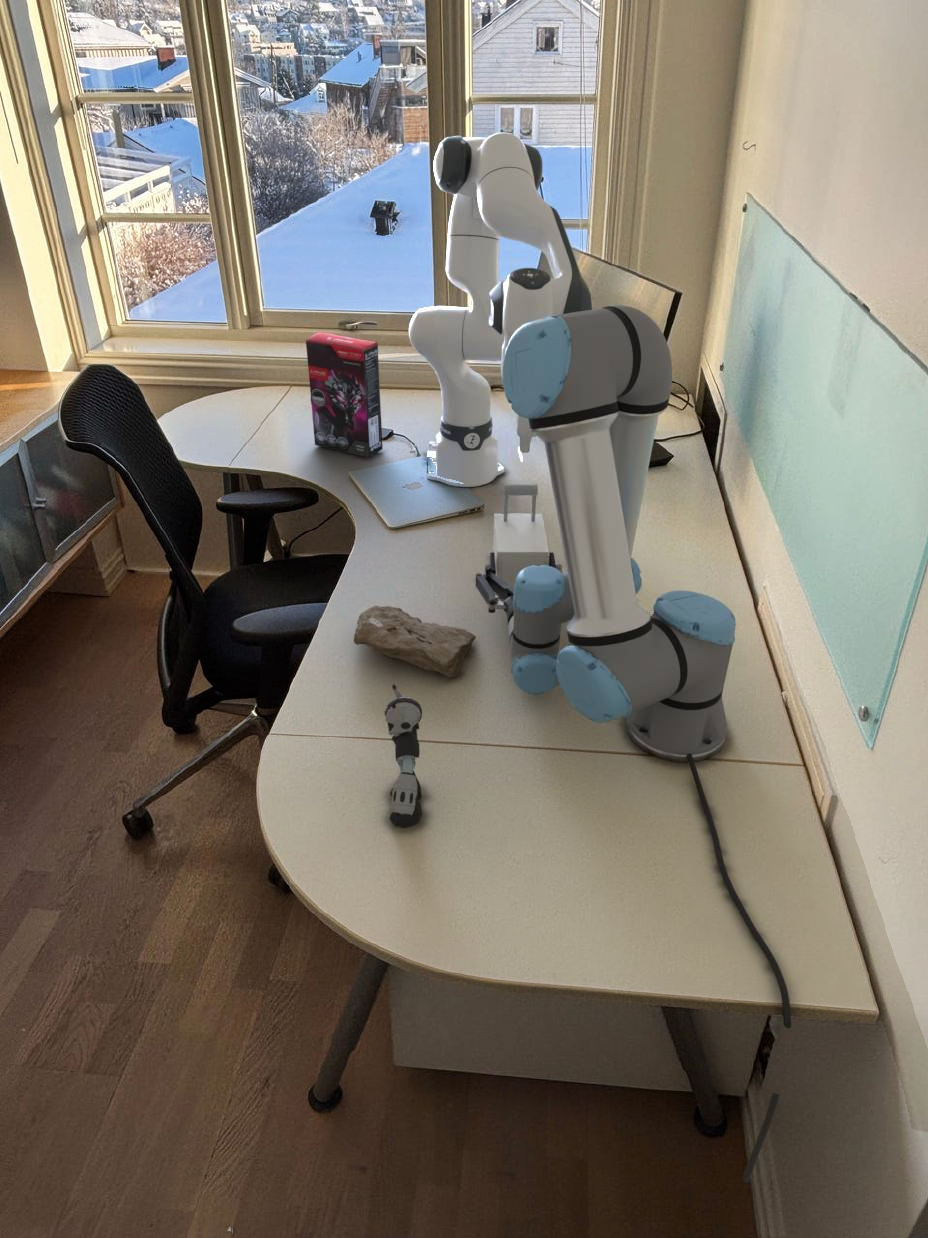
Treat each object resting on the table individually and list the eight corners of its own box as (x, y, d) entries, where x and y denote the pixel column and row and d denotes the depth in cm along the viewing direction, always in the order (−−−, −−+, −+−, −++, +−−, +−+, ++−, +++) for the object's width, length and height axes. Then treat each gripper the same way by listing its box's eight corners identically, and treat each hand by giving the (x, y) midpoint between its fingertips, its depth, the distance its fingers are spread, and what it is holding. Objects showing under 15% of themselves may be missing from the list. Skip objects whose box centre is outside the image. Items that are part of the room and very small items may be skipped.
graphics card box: (312, 446, 233) (302, 338, 217) (328, 436, 238) (320, 330, 223) (369, 459, 226) (363, 349, 211) (384, 449, 231) (380, 341, 216)
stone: (330, 651, 154) (336, 619, 151) (363, 622, 167) (369, 592, 165) (447, 693, 150) (456, 661, 148) (471, 659, 164) (479, 629, 161)
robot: (425, 859, 121) (422, 744, 110) (387, 860, 121) (381, 745, 110) (423, 757, 137) (420, 648, 126) (390, 758, 137) (385, 649, 126)
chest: (492, 557, 187) (494, 519, 183) (539, 557, 188) (542, 519, 183) (495, 596, 175) (497, 556, 170) (546, 596, 175) (548, 556, 170)
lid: (493, 517, 183) (495, 477, 178) (542, 517, 183) (544, 477, 178) (497, 556, 170) (498, 514, 165) (548, 556, 170) (551, 514, 166)
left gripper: (549, 388, 154) (544, 464, 162) (539, 349, 171) (535, 420, 179) (511, 387, 154) (508, 464, 162) (505, 349, 171) (503, 420, 179)
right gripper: (599, 605, 154) (583, 541, 172) (462, 605, 153) (461, 541, 172) (595, 642, 158) (580, 575, 176) (462, 642, 158) (460, 575, 176)
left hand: (522, 440), depth 171 cm, fingers open, 8 cm apart
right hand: (521, 558), depth 174 cm, fingers open, 10 cm apart
